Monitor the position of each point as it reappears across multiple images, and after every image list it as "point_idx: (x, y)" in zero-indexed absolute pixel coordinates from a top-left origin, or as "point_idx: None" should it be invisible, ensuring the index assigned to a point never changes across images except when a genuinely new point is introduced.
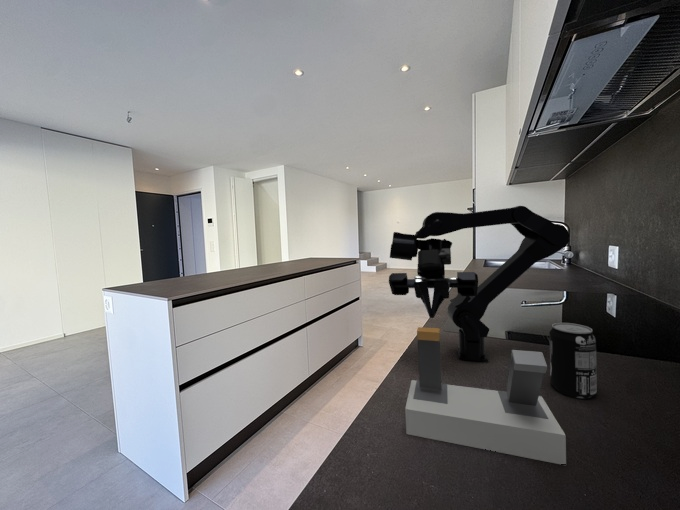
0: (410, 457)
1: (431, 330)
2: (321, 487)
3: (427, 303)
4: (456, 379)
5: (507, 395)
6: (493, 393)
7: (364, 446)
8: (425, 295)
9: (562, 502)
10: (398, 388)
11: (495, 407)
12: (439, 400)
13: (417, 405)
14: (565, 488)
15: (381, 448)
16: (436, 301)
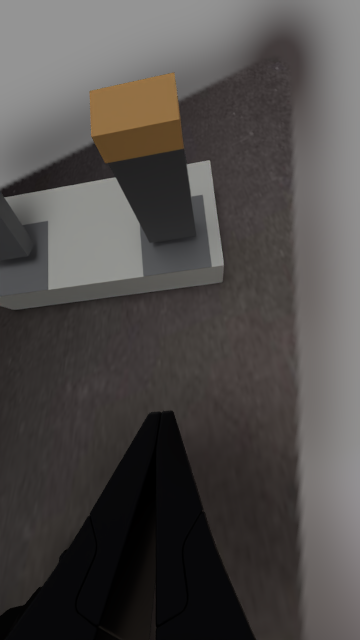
0: (194, 155)
1: (120, 102)
2: (283, 68)
3: (179, 481)
4: (144, 412)
5: (29, 249)
6: (57, 277)
7: (262, 143)
8: (197, 579)
9: (37, 171)
10: (265, 319)
11: (60, 229)
12: None
13: (190, 179)
14: (28, 190)
15: (237, 151)
16: (101, 506)
